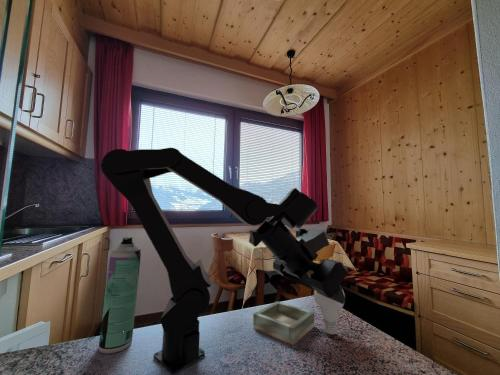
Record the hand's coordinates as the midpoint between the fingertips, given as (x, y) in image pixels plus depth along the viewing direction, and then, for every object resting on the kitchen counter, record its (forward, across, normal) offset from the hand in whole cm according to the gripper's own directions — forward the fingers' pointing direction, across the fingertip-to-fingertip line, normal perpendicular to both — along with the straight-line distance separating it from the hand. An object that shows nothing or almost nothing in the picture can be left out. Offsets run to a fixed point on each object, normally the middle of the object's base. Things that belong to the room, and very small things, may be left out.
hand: (327, 294), depth 48 cm
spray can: (-24, +11, +35) cm, 43 cm away
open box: (0, +6, +11) cm, 13 cm away
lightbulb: (+6, 0, +6) cm, 8 cm away
